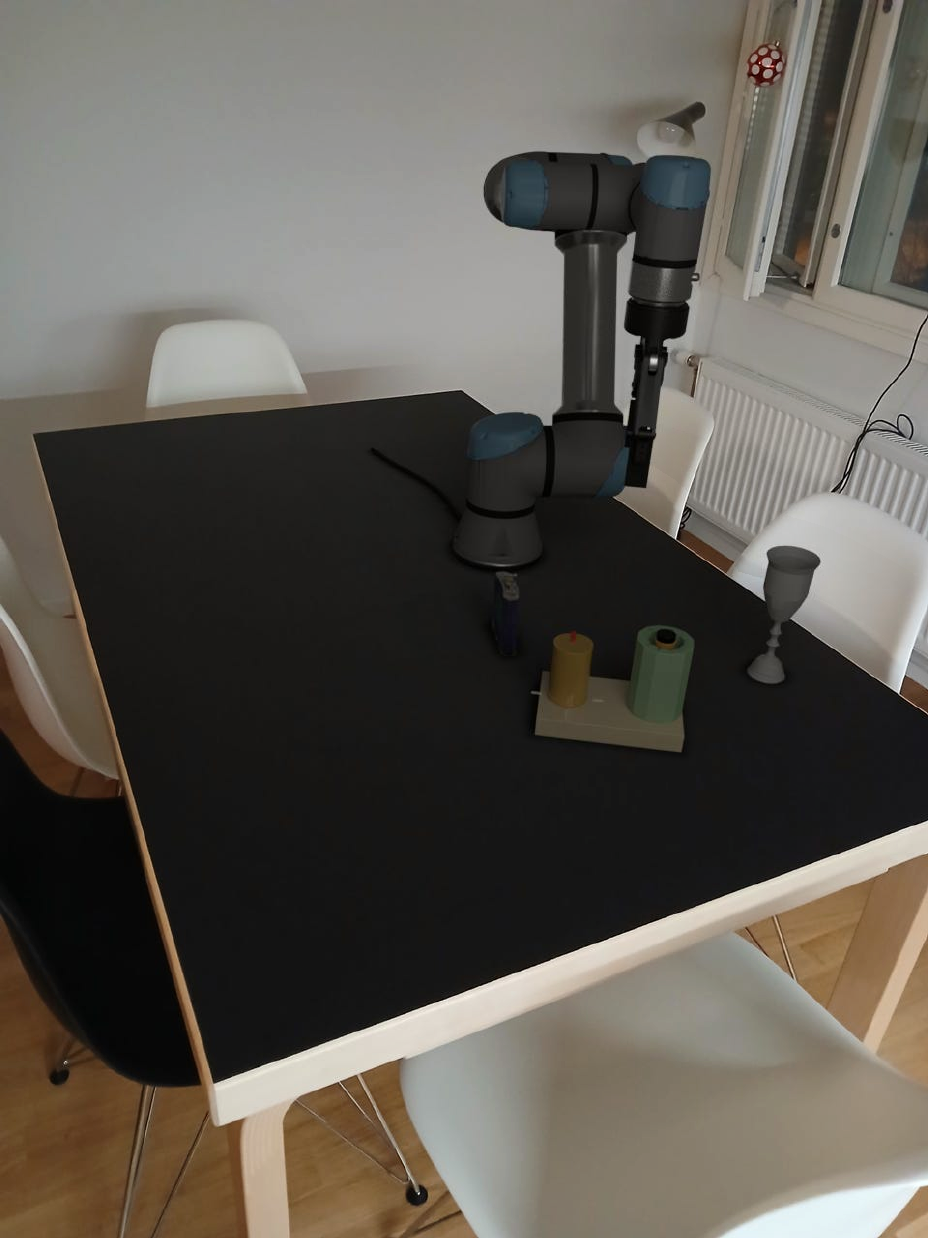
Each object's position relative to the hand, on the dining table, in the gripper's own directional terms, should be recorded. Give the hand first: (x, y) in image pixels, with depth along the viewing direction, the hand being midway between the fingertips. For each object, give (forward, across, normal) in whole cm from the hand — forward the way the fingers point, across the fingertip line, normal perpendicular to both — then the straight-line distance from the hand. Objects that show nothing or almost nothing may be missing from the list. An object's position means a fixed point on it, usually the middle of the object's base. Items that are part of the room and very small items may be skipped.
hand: (634, 466), depth 126 cm
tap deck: (+27, -20, 0) cm, 33 cm away
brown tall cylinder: (+27, -20, -6) cm, 34 cm away
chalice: (+27, -4, -22) cm, 35 cm away
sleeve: (+24, -20, -6) cm, 32 cm away
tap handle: (+24, -19, +5) cm, 32 cm away
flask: (+27, -3, +15) cm, 31 cm away
